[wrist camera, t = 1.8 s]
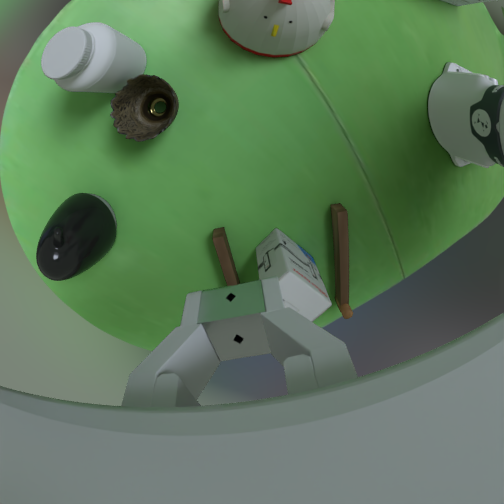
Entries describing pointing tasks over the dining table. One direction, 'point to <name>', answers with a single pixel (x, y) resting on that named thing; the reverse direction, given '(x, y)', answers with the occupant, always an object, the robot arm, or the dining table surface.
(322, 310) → the ink box
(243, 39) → the kitchen timer
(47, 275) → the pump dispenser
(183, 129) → the dining table surface
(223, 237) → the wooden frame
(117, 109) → the cup
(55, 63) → the pill bottle
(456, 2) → the supplement box
